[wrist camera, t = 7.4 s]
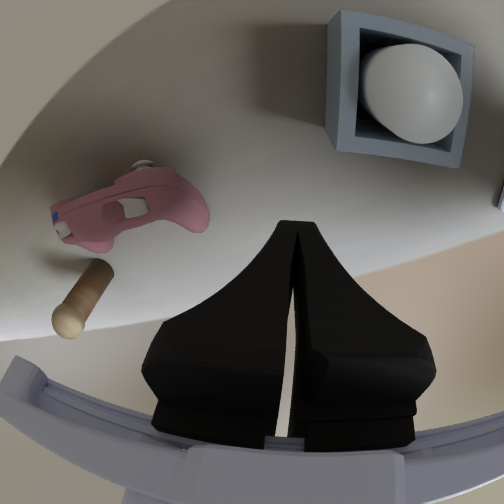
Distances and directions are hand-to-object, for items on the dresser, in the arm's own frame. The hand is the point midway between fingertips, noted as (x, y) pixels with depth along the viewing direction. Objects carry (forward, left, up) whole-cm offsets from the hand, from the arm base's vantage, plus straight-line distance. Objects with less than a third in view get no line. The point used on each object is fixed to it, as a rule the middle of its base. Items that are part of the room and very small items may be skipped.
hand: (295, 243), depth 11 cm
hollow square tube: (-4, -6, -7) cm, 10 cm away
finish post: (+16, +9, -7) cm, 19 cm away
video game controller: (+10, +2, -7) cm, 13 cm away
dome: (-4, -6, -5) cm, 9 cm away
